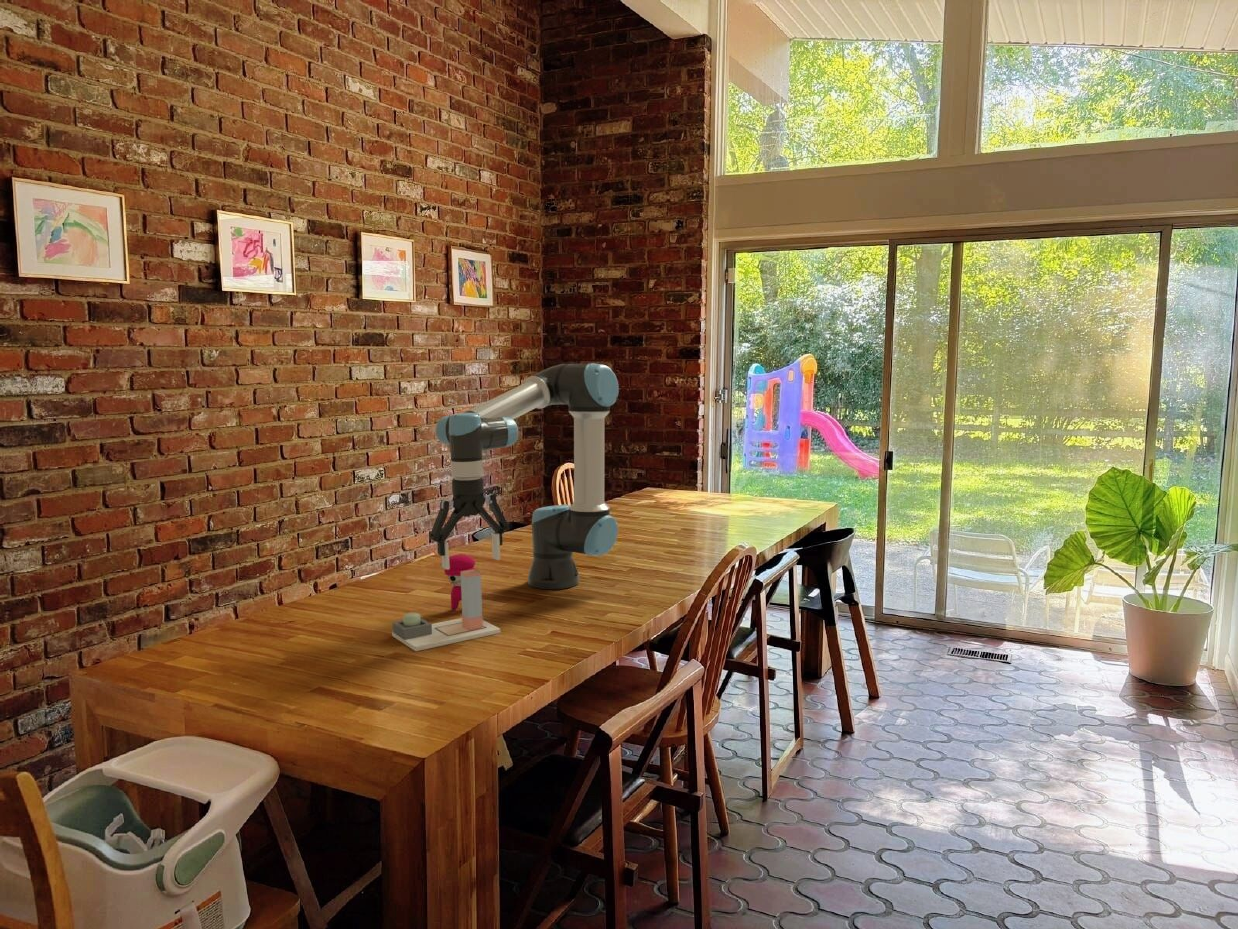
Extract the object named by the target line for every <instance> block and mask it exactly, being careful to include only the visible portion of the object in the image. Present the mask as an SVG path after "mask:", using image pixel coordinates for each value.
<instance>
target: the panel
mask: <svg viewBox="0 0 1238 929" xmlns="http://www.w3.org/2000/svg"><path fill="white" fill-rule="evenodd" d="M420 621H421V625H418V626H413V627H408V628H406V627H404V623H403V620H398V621H395V622H394V621H393V622H392V632H391V633H392V634H391V635H392V637H393V638H395V639H396V640H398V641H400V642H401V643H402V644H404V645H406V646H407V647H409V648H410V649H411V650H413V651H414V652H419V651H424V650H428V649H432V648H437V647H442V646H445V645H452V644H455V643H459V642H460V643H461V642H464V641H469V640H474V639H479V638H485V637H488V636H492V635H497V634H501V628H499V627H498V626H495V625H494V624H492V623H490V622H489V621H485V620H484V619H483V628H479V629H475V630H470V631H469V630H467V629H465V628H463V627H462V617H459V618H455V619H450V620H446V621H445V620H444V621H439V622H435V623H430V622H428V621H427V620H426V619H424V618H422V617H420Z"/></svg>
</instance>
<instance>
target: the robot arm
mask: <svg viewBox="0 0 1238 929" xmlns="http://www.w3.org/2000/svg"><path fill="white" fill-rule="evenodd" d="M619 388H620V387H619V381H618V379H617V376H616V374H615V372H613V370H612V369H611V367H610V366H607V365H605V364H600V363H594V362H592V363H562V364H557V365H553V366H550V367H548V368H545V369H543V370H541V371H539V372H537V373H534V374H532V375H531V376H529V377H527V378H525V380H524V382H523V383H522V384H520V385H518V386H516V387H514V388H512V389H510V390H508V391H506V392H503V393H502V394H500V395H497V396H495V397H493V398H491V399H489V400H487V401H485V402H484V403H483V402H482V403H481V404H480V405H477V406H475V407H473V408H470V409H469V410H466V411H464V412H460V413H453V414H450V415H447V416H446V415H445V416H442V417H440V419H439V420H438V421H437V423H436V425H435V434H436V438H437V439H438V441H439V442H440V443H441V444H444V445H448V446H449V450H450V452H449V453H450V470H451V471H450V472H451V477H452V480H451V493H452V499H451V500H445V499H441V500H440V501H439V502H440V503H439V511H438V513H437V516H436V518H435V521H434V524H433V526H432V527H431V528H432V529H431V531H430V534H429V537H428V538H429V540H431V541H433V542H436V544H437V554H438V555H439V556H440V557H441V568H442V569H444V570H445V569H447V570H448V569H450V565H449V557H450V550H449V547H450V546H449V542H448V541H447V539H448V537H449V536H450V534H451V533H452V532H453V531H454V529H455V527H456V525H458V522H459V521H461V520H462V518H463V517H464V518H467V517H470V516H478V515H479V517H481V518H482V520H484V522H485V523H487V525H488V526H489V527H490V528H491V529H492V530H493V532H490V533H491V555H492V556H491V557H492V559H494V560H496V561H500V560H501V548H500V546H503V534H505V531H506V530H509V529H510V525H509V523H508V521H507V520H506V517H505V516H504V514H503V512H502V509H501V508H500V506H499V504H498V500H497V496H496V495H495V494H492V493H488V494H487V495H485V494H484V491H485V486H484V485H485V484H484V478H483V475H484V468H483V467H484V464H483V451H487V450H494V449H501V448H502V449H505V448H507V447H510V446H513V445H514V444H516V442H517V440H518V438H519V426H518V425H517V423H516V421H515V420H516V419H518V418H519V417H521V416H523V415H525V414H528V412H530V411H533V410H534V409H538V410H540V409H543V408H546V407H548V406H552V405H567V406H568V413H569V414H570V415H571V416H572V418H573V442H574V443H573V464H574V465H573V480H574V481H573V488H574V489H573V497H574V498H573V499H574V500H573V503H572V504H557V505H550V506H549V505H548V506H543V507H539V508H536V509H535V510H534V511H533V512H532V522H531V529H532V530H531V531H532V532H531V533H532V554H533V555H532V556H533V557H532V561H531V565H530V568H529V572H528V575H527V584H528V586H529V587H531V588H535V589H540V590H562V589H568V588H572V587H575V586H576V585H578V584H579V582H580V576H579V575H580V574H579V572H578V571H579V570H578V569H577V568H578V567H577V566H576V563H575V560H574V558H573V553H575V554H581V555H586V556H591V557H592V556H597V557H601V556H604V555H606V554H608V553H609V552H610V551H611V550H612V549H613V547H614V546H615V544H616V542H617V538H618V533H619V525H618V522H617V520H616V518H615V517H614V516H612V515H610V514H611V513H610V512H611V511H610V508H611V507H610V506H609V505H608V504H607V503H606V501H605V418H606V417H607V416H608V415H609V413H610V412H611V410H610V409H611V406H613V405H614V404H615V403H616V402H617V398H618V397H619V392H620V390H619ZM485 503H487V504H488V506H489V508H490V510H491V512H492V513H493V516H494V518H495V520H494V518H493V517H492V516H491V515H490V514H489V513H488V511H487V510H486V509H485V507H484V504H485ZM451 508H453V511H452V512H451V514H450V517H449V518H448V520H447V517H448V515H449V512H450V510H451ZM445 522H446V523H445Z"/></svg>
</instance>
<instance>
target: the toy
mask: <svg viewBox="0 0 1238 929" xmlns="http://www.w3.org/2000/svg"><path fill="white" fill-rule="evenodd" d="M449 565H450V569H448V570H447V569H444V574H445V575H446V576H447V580H448V581H449V583H450V584H451V585H453V587H452V588H451V591H450V608H451V610H457V609H458V608H459V603H460V602H462V593H461V572H460V571H466V570H472V569H475V568H474V567H475V565H476V560H475V558H473V557H472V556H470V555H467V554H462V553H461V554H453V555H449Z"/></svg>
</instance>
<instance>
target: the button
mask: <svg viewBox="0 0 1238 929" xmlns="http://www.w3.org/2000/svg"><path fill="white" fill-rule="evenodd" d="M420 618H421V613H418V612H409V613H404V614H403V616H402V619H403V620H402V621H403V623H404V627H406V628H408V627H413V626H418V625H421V621H420Z"/></svg>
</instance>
